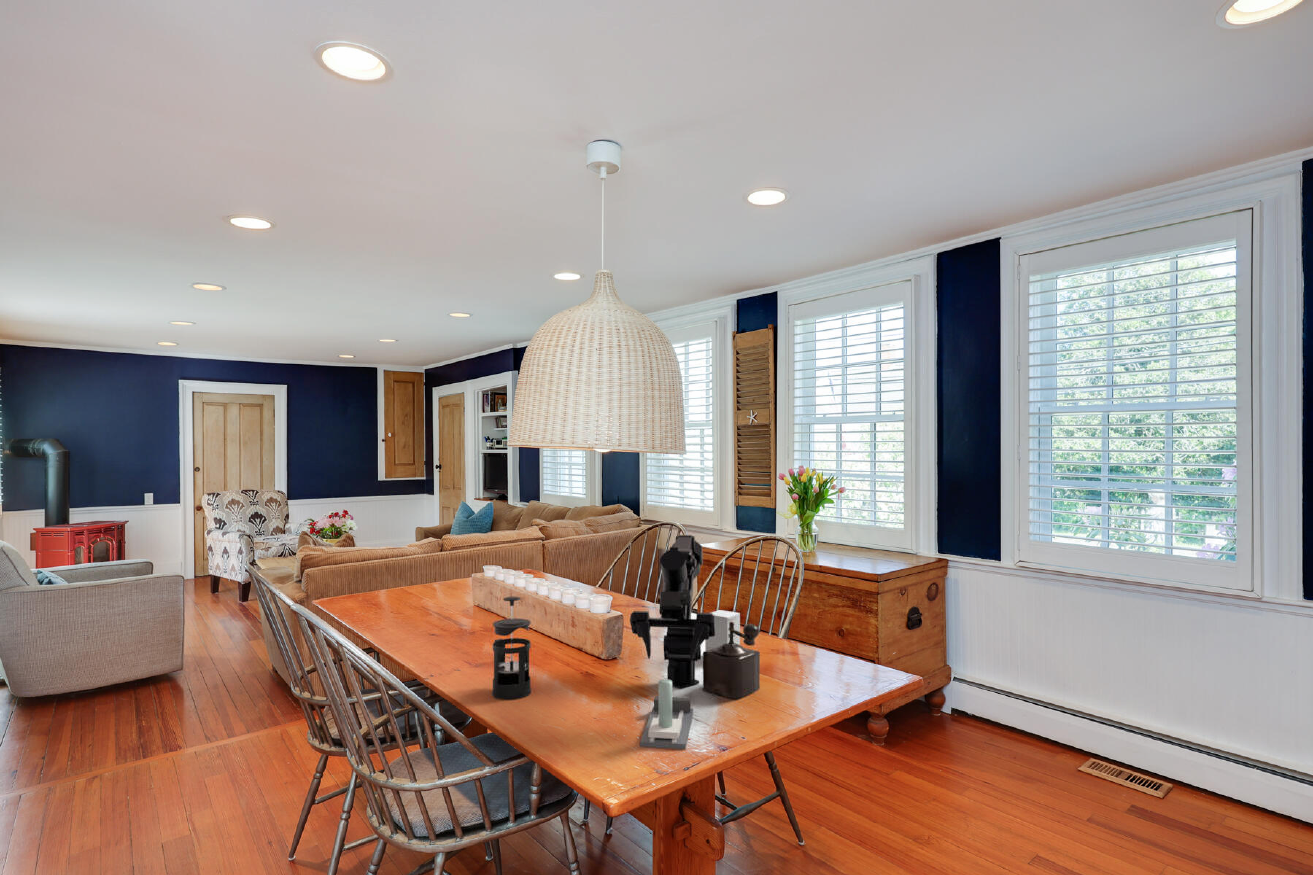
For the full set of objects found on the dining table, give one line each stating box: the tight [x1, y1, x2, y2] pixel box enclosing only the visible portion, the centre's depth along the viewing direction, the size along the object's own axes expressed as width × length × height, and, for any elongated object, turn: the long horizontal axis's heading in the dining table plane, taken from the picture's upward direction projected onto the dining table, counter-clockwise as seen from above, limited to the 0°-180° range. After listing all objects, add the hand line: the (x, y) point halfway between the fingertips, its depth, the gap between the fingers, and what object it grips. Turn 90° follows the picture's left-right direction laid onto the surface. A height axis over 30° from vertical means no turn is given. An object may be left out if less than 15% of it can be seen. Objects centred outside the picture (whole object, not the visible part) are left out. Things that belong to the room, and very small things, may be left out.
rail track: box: [639, 696, 694, 750], centre depth 146 cm, size 19×9×4 cm, turn 172°
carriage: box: [648, 678, 682, 739], centre depth 141 cm, size 7×6×10 cm
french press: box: [491, 596, 532, 701], centre depth 168 cm, size 12×9×23 cm
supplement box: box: [704, 609, 741, 652], centre depth 196 cm, size 7×7×13 cm
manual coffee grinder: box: [702, 622, 761, 700], centre depth 168 cm, size 16×11×18 cm
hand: (669, 658), depth 149 cm, fingers open, 9 cm apart
